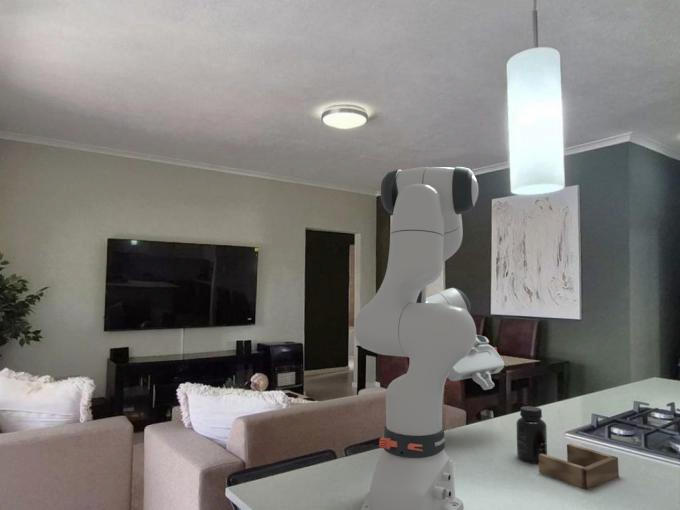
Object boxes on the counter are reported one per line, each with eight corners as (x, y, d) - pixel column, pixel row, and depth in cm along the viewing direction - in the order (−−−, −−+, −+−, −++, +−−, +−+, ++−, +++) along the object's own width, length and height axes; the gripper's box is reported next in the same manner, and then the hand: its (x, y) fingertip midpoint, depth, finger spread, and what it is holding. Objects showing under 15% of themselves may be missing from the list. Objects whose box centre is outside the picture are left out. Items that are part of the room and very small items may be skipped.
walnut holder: (539, 472, 110) (538, 454, 110) (570, 460, 117) (569, 443, 117) (587, 490, 101) (587, 470, 101) (618, 475, 108) (617, 457, 108)
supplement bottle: (550, 465, 114) (548, 412, 115) (519, 463, 116) (518, 411, 116) (544, 454, 121) (542, 405, 122) (515, 453, 122) (513, 404, 123)
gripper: (439, 342, 130) (469, 386, 122) (490, 336, 142) (520, 376, 133) (428, 357, 134) (456, 400, 125) (478, 350, 145) (507, 389, 137)
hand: (489, 388), depth 129 cm, fingers closed
